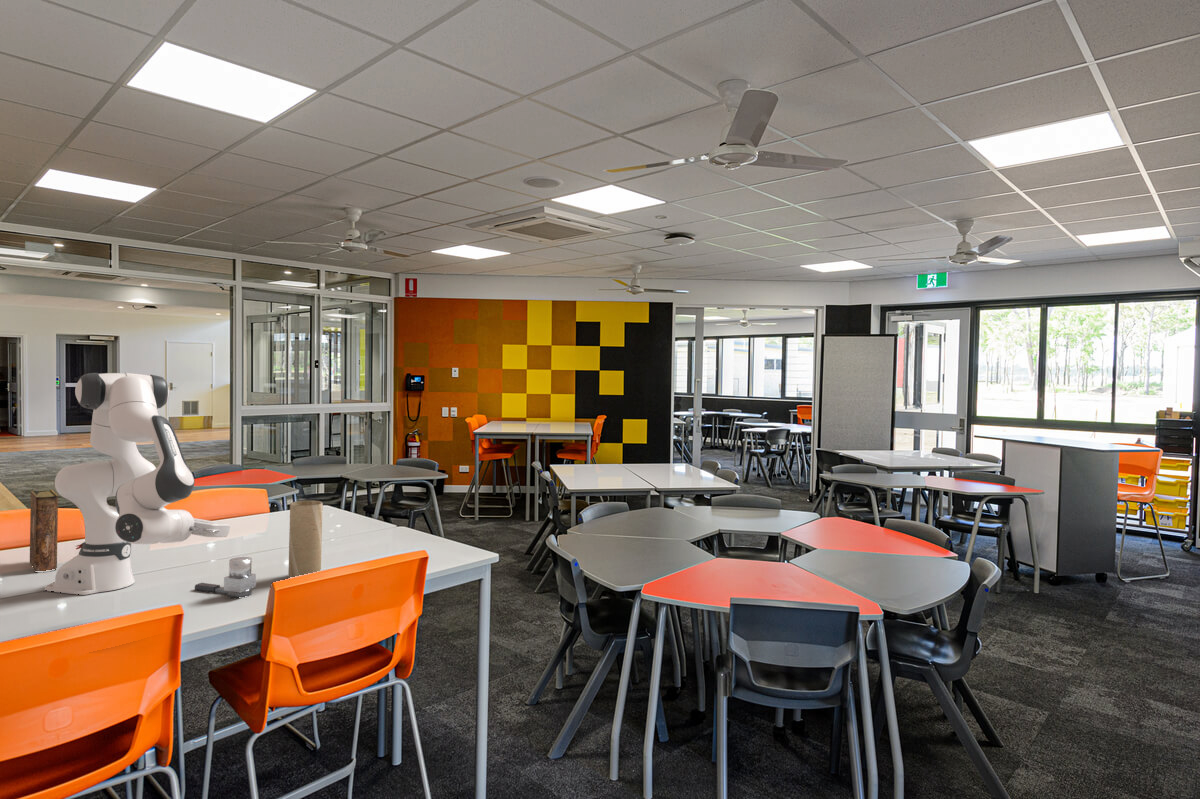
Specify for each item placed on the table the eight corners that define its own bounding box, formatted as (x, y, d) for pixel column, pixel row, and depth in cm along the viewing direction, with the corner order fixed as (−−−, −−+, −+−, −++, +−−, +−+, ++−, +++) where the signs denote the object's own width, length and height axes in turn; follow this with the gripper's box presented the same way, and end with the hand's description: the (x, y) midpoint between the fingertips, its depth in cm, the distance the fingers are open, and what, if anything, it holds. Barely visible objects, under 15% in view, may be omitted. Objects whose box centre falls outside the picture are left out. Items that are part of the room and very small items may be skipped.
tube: (288, 582, 209) (289, 506, 208) (288, 573, 218) (290, 501, 217) (321, 579, 213) (323, 505, 213) (320, 571, 222) (322, 499, 222)
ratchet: (188, 592, 196) (188, 576, 196) (205, 586, 202) (206, 570, 202) (240, 599, 192) (240, 583, 191) (256, 593, 198) (256, 577, 198)
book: (57, 570, 213) (58, 496, 212) (35, 573, 209) (37, 497, 208) (50, 560, 224) (51, 489, 223) (29, 562, 220) (30, 490, 219)
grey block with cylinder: (223, 590, 193) (224, 561, 193) (239, 584, 199) (240, 556, 199) (240, 592, 192) (241, 563, 191) (255, 586, 197) (256, 557, 197)
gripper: (212, 520, 173) (245, 519, 186) (144, 508, 175) (181, 508, 188) (207, 543, 172) (239, 541, 185) (138, 531, 174) (175, 530, 187)
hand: (209, 524), depth 187 cm, fingers open, 8 cm apart
